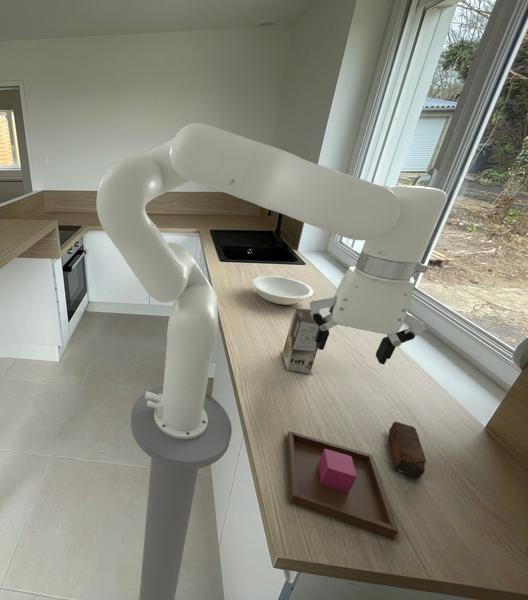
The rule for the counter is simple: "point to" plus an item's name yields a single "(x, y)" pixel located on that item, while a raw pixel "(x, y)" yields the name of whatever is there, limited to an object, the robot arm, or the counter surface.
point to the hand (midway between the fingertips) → (348, 352)
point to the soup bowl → (281, 289)
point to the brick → (406, 450)
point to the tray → (343, 506)
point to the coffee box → (301, 342)
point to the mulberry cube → (337, 470)
